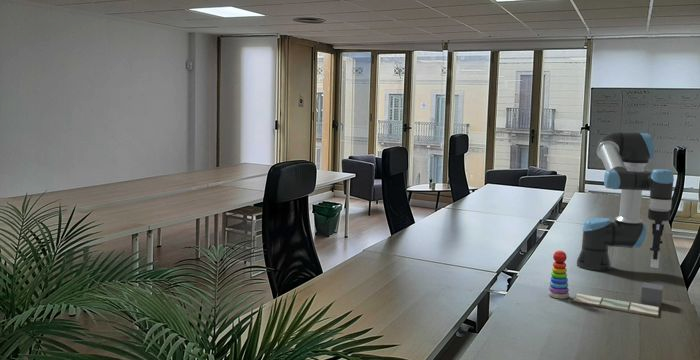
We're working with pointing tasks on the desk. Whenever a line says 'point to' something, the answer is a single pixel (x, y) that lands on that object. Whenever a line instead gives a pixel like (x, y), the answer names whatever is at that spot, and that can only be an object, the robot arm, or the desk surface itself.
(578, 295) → the board
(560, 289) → the stacking toy
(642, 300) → the grey plain cubic block
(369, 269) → the desk surface
